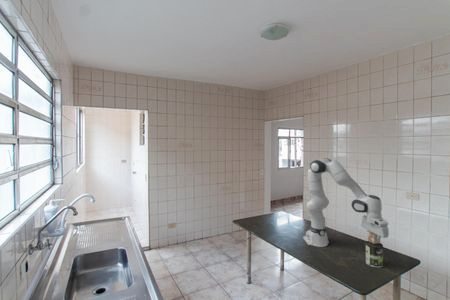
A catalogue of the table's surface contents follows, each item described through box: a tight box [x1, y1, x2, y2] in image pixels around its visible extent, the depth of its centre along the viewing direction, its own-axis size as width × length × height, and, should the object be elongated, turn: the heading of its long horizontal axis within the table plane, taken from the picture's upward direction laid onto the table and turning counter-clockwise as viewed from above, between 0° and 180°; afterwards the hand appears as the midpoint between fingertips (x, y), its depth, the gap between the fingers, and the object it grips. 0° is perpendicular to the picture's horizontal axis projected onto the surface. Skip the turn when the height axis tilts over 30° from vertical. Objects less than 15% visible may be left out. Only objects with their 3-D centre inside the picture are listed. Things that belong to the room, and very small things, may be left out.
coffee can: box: [365, 240, 384, 268], centre depth 164 cm, size 10×10×14 cm
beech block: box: [367, 232, 381, 244], centre depth 164 cm, size 5×5×6 cm
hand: (374, 238), depth 164 cm, fingers closed on beech block, 5 cm apart
